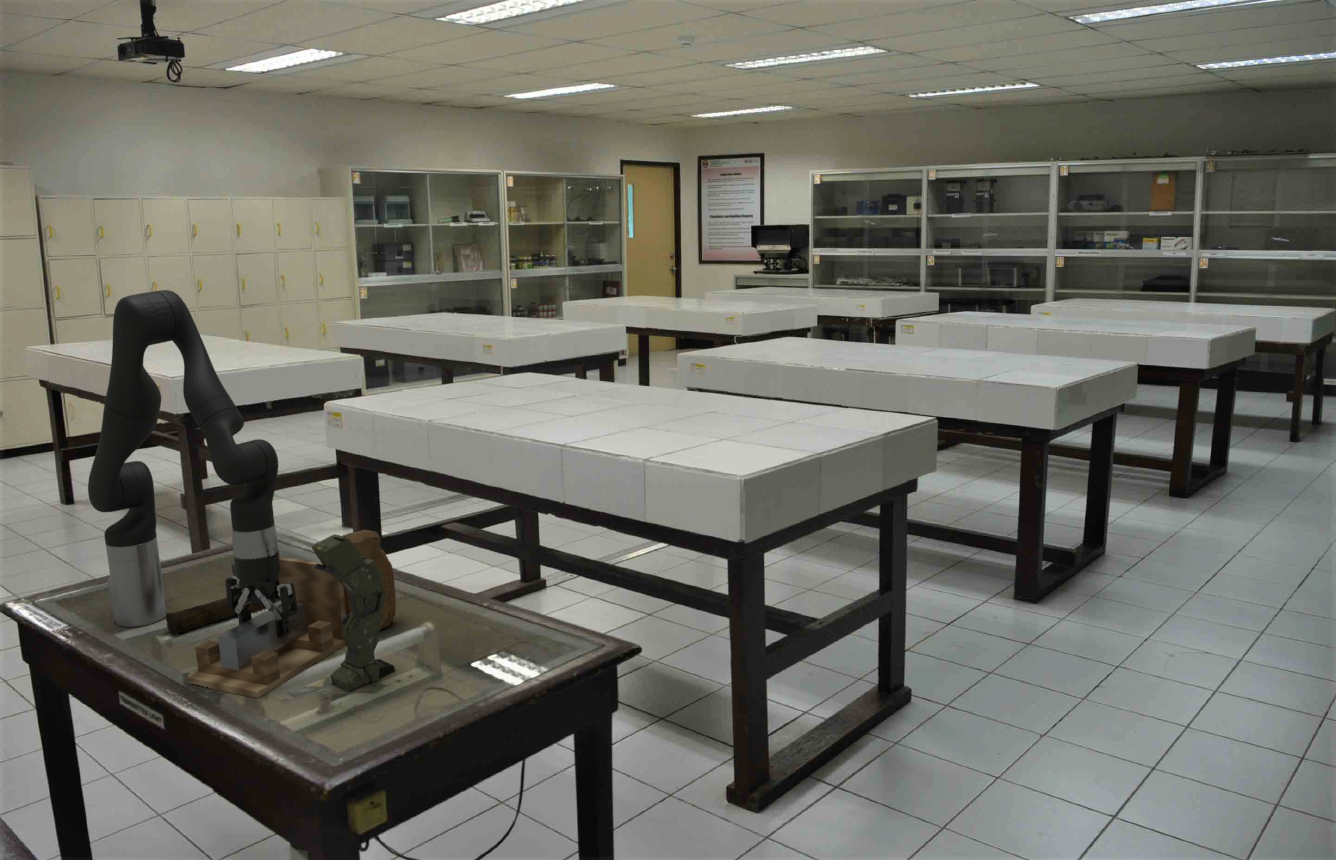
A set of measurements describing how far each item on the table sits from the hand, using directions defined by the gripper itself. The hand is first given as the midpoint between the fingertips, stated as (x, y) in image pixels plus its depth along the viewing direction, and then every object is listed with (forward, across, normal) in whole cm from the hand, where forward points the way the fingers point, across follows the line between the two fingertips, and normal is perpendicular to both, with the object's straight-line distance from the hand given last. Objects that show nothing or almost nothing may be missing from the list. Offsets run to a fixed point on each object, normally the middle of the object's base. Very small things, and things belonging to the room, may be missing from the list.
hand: (265, 633), depth 178 cm
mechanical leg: (+6, +20, +1) cm, 21 cm away
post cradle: (+6, 0, 0) cm, 6 cm away
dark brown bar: (+7, -25, +15) cm, 30 cm away
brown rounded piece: (+6, +7, +20) cm, 22 cm away
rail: (+3, 0, 0) cm, 3 cm away
